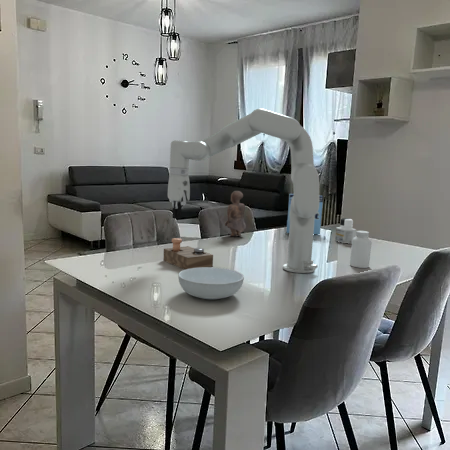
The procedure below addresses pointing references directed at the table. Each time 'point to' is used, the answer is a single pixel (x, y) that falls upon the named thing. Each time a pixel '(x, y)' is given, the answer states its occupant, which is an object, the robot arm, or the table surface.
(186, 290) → the serving bowl
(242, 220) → the clay figurine
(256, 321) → the table surface
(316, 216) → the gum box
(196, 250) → the plug
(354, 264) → the pill bottle
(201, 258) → the block
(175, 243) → the rust plug
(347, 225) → the container
